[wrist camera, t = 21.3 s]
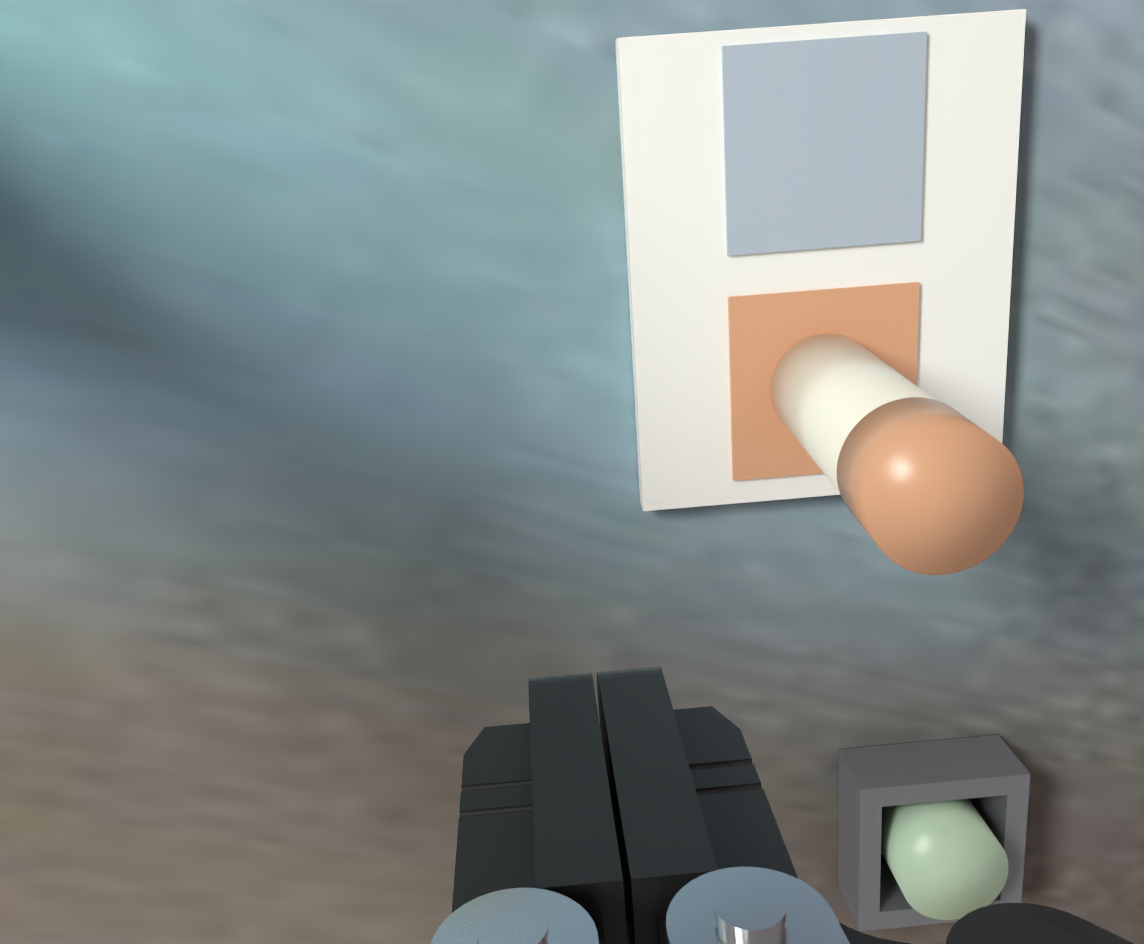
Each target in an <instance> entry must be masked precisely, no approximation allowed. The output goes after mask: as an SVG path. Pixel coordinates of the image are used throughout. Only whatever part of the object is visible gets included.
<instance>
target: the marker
mask: <svg viewBox="0 0 1144 944" xmlns="http://www.w3.org/2000/svg"><path fill="white" fill-rule="evenodd" d="M770 392H771V401H772V404H773V408H774V410H775V412H776V414H777V416H778V417H779V419H780V420H781V421H782V422H783V424H784V425H785V426H786V427H787V429H788V430H789V431H790V432H791V433H792V435H793V436H794V437H795V438H796V440H797V441H798V442H799V443H800V445H801V446H802V447H803V448H804V449H805V451H806V452H807V453H808V454H809V456H810V457H811V458H812V459H813V461H814V462H815V463H816V464H817V465H818V467H819V468H820V469H821V470H822V472H823V473H824V474H825V475H826V477H827V478H828V479H829V480H830V481H831V483H832V484H833V485H834V486H835V488H836V489H837V490H838V491H839V493H840V495H841V497H842V499H843V501H844V503H845V505H846V506H847V508H848V509H849V510H850V512H851V513H852V514H853V515H854V517H855V518H856V519H857V520H858V522H859V523H860V524H861V525H862V527H863V528H864V529H865V530H866V532H867V533H868V534H869V535H870V537H871V538H872V539H873V540H874V542H875V543H876V544H877V545H878V547H879V548H880V549H881V550H882V551H883V552H884V554H885V555H886V556H887V557H888V558H889V559H891V560H892V561H893V562H894V563H896V564H898V565H899V566H901V567H903V568H905V569H907V570H910V571H913V572H916V573H920V574H927V575H943V574H951V573H955V572H960V571H962V570H965V569H968V568H970V567H973V566H975V565H977V564H979V563H980V562H982V561H984V560H985V559H987V558H988V557H989V556H991V555H992V554H993V553H994V552H996V551H997V550H998V549H999V548H1000V547H1001V546H1002V545H1003V543H1004V542H1005V541H1006V540H1007V539H1008V537H1009V536H1010V534H1011V533H1012V531H1013V530H1014V528H1015V526H1016V524H1017V522H1018V520H1019V517H1020V514H1021V511H1022V506H1023V501H1024V481H1023V477H1022V473H1021V470H1020V467H1019V465H1018V463H1017V461H1016V459H1015V458H1014V456H1013V455H1012V453H1011V452H1010V451H1009V450H1008V449H1007V448H1006V447H1005V446H1004V445H1003V444H1002V443H1001V442H999V441H998V440H997V439H995V438H994V437H993V436H991V435H990V434H988V433H987V432H986V431H984V430H983V429H981V428H980V427H979V426H977V425H976V424H975V423H973V422H972V421H970V420H969V419H968V418H966V417H965V416H963V415H962V414H961V413H959V412H958V411H956V410H955V409H953V408H952V407H951V406H949V405H947V404H945V403H943V402H940V401H937V400H935V399H934V398H933V397H931V396H930V395H928V394H927V393H926V392H924V391H923V390H922V389H920V388H919V387H918V386H916V385H915V384H913V383H912V382H911V381H909V380H908V379H907V378H905V377H904V376H902V375H901V374H900V373H898V372H897V371H896V370H894V369H893V368H892V367H890V366H889V365H887V364H886V363H885V362H883V361H882V360H881V359H879V358H878V357H876V356H875V355H874V354H872V353H871V352H870V351H868V350H867V349H866V348H864V347H863V346H861V345H860V344H859V343H857V342H856V341H854V340H852V339H850V338H848V337H846V336H842V335H838V334H819V335H814V336H811V337H808V338H806V339H804V340H802V341H800V342H798V343H797V344H795V345H794V346H792V347H791V348H790V349H789V350H788V351H787V352H786V353H785V354H784V355H783V356H782V358H781V359H780V361H779V362H778V364H777V366H776V368H775V370H774V373H773V376H772V380H771V387H770Z"/></svg>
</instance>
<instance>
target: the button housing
mask: <svg viewBox="0 0 1144 944" xmlns="http://www.w3.org/2000/svg"><path fill="white" fill-rule="evenodd" d="M1029 787H1030V773H1029V772H1028V770H1027V769H1026V768H1025V767H1024V765H1023V764H1022V763H1021V762H1020V760H1019V759H1018V758H1017V757H1016V756H1015V754H1014V753H1013V752H1012V751H1011V749H1010V748H1009V747H1008V746H1007V745H1006V743H1005V742H1004V741H1003V740H1002V738H1001V737H1000V736H999V735H987V736H976V737H965V738H954V739H944V740H933V741H922V742H911V743H900V744H889V745H879V746H868V747H857V748H846V749H839V763H838V886H839V889H840V891H841V893H842V896H843V898H844V900H845V902H846V905H847V907H848V909H849V912H850V914H851V916H852V918H853V921H854V923H855V925H856V928H857V930H858V932H860V931H870V930H880V929H891V928H901V927H911V926H921V925H932V924H942V923H952V922H957V921H958V920H959V919H956V920H938V919H933V918H929V917H926V916H924V915H922V914H920V913H919V912H917V911H916V910H915V909H913V908H912V907H911V906H910V904H909V903H908V902H907V900H906V899H905V897H904V895H903V893H902V891H901V889H900V887H899V885H898V883H897V881H896V879H895V877H894V876H893V874H892V872H891V870H890V868H889V866H888V864H887V863H881V825H882V807H885V806H896V805H906V804H917V803H928V802H938V801H949V800H960V799H970V798H975V800H974V807H975V808H976V810H977V811H978V813H979V814H980V816H981V817H982V818H983V820H984V821H985V823H986V824H987V826H988V827H989V829H990V830H991V831H992V833H993V834H994V836H995V837H996V839H997V840H998V842H999V843H1000V844H1001V846H1002V847H1003V849H1004V851H1005V853H1006V856H1007V859H1008V876H1007V880H1006V883H1005V885H1004V887H1003V889H1002V891H1001V892H1000V894H999V895H998V896H997V898H996V899H995V900H994V901H993V902H992V903H991V904H989V905H993V904H1001V903H1021V901H1022V887H1023V873H1024V858H1025V844H1026V830H1027V816H1028V802H1029Z"/></svg>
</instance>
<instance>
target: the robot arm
mask: <svg viewBox="0 0 1144 944" xmlns="http://www.w3.org/2000/svg"><path fill="white" fill-rule="evenodd" d="M597 690H598V705H599V717H598V710H597V704H596V697H595V691H594V684H593V678H592V673H589V674H578V675H567V676H555V677H544V678H533V679H529V712H530V723H526V724H515V725H504V726H493V727H485V728H484V729H483V730H482V732H481V733H480V734H479V736H478V737H477V738H476V740H475V741H474V742H473V744H472V745H471V746H470V748H469V749H468V750H467V752H466V753H465V754H464V759H463V772H462V792H461V799H460V818H459V825H458V838H457V852H456V865H455V878H454V891H453V905H452V914H451V915H450V916H448V917H447V918H446V919H445V921H444V922H443V923H442V924H441V925H440V927H439V928H438V930H437V931H436V933H435V935H434V937H433V939H432V942H431V944H909V943H903V942H896V941H891V940H886V939H881V938H876V937H873V936H870V935H867V934H863V933H860V932H858V931H856V930H853V929H851V928H849V927H846V926H845V925H843V924H841V923H839V922H838V920H837V918H836V916H835V914H834V913H833V911H832V909H831V907H830V906H829V904H828V903H827V901H826V900H825V899H824V898H823V897H822V896H821V895H820V894H819V893H818V892H817V891H816V890H815V889H813V888H812V887H811V886H809V885H808V884H806V883H805V882H803V881H801V880H799V879H798V877H797V875H796V872H795V870H794V867H793V864H792V862H791V859H790V857H789V854H788V851H787V849H786V846H785V844H784V841H783V838H782V836H781V833H780V831H779V828H778V826H777V823H776V820H775V818H774V815H773V813H772V810H771V807H770V805H769V802H768V800H767V797H766V795H765V792H764V789H762V788H761V782H760V779H759V776H758V774H757V771H756V769H755V766H754V764H753V765H752V758H751V756H750V753H749V751H748V748H747V745H746V743H745V740H744V738H743V735H742V733H741V730H740V729H739V728H738V727H737V726H735V725H734V724H733V723H732V722H730V721H729V720H728V719H727V718H726V717H724V716H723V715H722V714H721V713H720V712H718V711H717V710H716V709H715V708H713V707H712V706H711V707H700V708H689V709H678V710H673V708H672V704H671V701H670V697H669V694H668V690H667V687H666V683H665V680H664V676H663V673H662V670H661V667H654V668H642V669H631V670H620V671H609V672H598V673H597ZM599 719H600V724H599ZM946 944H1133V943H1131V942H1129V941H1127V940H1125V939H1123V938H1121V937H1119V936H1117V935H1115V934H1113V933H1111V932H1109V931H1106V930H1104V929H1102V928H1100V927H1098V926H1096V925H1094V924H1092V923H1090V922H1088V921H1086V920H1084V919H1082V918H1079V917H1077V916H1075V915H1072V914H1070V913H1067V912H1064V911H1061V910H1058V909H1055V908H1051V907H1046V906H1041V905H1037V904H1028V903H1001V904H993V905H988V906H985V907H981V908H978V909H976V910H974V911H972V912H970V913H968V914H966V915H965V916H963V917H962V918H961V919H959V920H958V921H957V922H956V924H955V925H954V926H953V927H952V929H951V930H950V933H949V935H948V937H947V941H946Z"/></svg>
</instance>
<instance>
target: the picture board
mask: <svg viewBox="0 0 1144 944" xmlns="http://www.w3.org/2000/svg"><path fill="white" fill-rule="evenodd" d="M1025 21H1026V9H1020V10H1006V11H992V12H978V13H963V14H949V15H935V16H921V17H907V18H893V19H879V20H865V21H850V22H836V23H822V24H808V25H794V26H780V27H766V28H752V29H737V30H723V31H709V32H695V33H681V34H667V35H653V36H639V37H624V38H618V39H616V40H615V42H616V61H617V79H618V98H619V117H620V136H621V154H622V173H623V192H624V210H625V229H626V248H627V266H628V285H629V304H630V322H631V341H632V360H633V379H634V397H635V416H636V435H637V453H638V472H639V491H640V504H641V507H642V509H643V511H652V510H664V509H676V508H688V507H700V506H711V505H723V504H735V503H747V502H759V501H770V500H782V499H794V498H806V497H817V496H829V495H840V493H839V491H838V490H837V489H836V488H835V486H834V485H833V484H832V483H831V481H830V480H829V479H828V478H827V477H826V475H825V474H824V473H823V472H822V470H821V469H820V468H819V467H818V465H817V464H816V463H815V462H814V461H813V459H812V458H811V457H810V456H809V454H808V453H807V452H806V451H805V449H804V448H803V447H802V446H801V445H800V443H799V442H798V441H797V440H796V438H795V437H794V436H793V435H792V433H791V432H790V431H789V430H788V429H787V427H786V426H785V425H784V424H783V422H782V421H781V420H780V419H779V417H778V416H777V414H776V412H775V410H774V408H773V404H772V401H771V392H770V387H771V380H772V376H773V373H774V370H775V368H776V366H777V364H778V362H779V361H780V359H781V358H782V356H783V355H784V354H785V353H786V352H787V351H788V350H789V349H790V348H791V347H792V346H794V345H795V344H797V343H798V342H800V341H802V340H804V339H806V338H808V337H811V336H814V335H819V334H838V335H842V336H846V337H848V338H850V339H852V340H854V341H856V342H857V343H859V344H860V345H861V346H863V347H864V348H866V349H867V350H868V351H870V352H871V353H872V354H874V355H875V356H876V357H878V358H879V359H881V360H882V361H883V362H885V363H886V364H887V365H889V366H890V367H892V368H893V369H894V370H896V371H897V372H898V373H900V374H901V375H902V376H904V377H905V378H907V379H908V380H909V381H911V382H912V383H913V384H915V385H916V386H918V387H919V388H920V389H922V390H923V391H924V392H926V393H927V394H928V395H930V396H931V397H933V398H934V399H935V400H937V401H940V402H943V403H945V404H947V405H949V406H951V407H952V408H953V409H955V410H956V411H958V412H959V413H961V414H962V415H963V416H965V417H966V418H968V419H969V420H970V421H972V422H973V423H975V424H976V425H977V426H979V427H980V428H981V429H983V430H984V431H986V432H987V433H988V434H990V435H991V436H993V437H994V438H995V439H997V440H998V441H999V442H1001V443H1002V438H1003V420H1004V402H1005V384H1006V366H1007V348H1008V330H1009V311H1010V293H1011V275H1012V257H1013V239H1014V221H1015V203H1016V185H1017V166H1018V148H1019V130H1020V112H1021V94H1022V76H1023V58H1024V39H1025Z"/></svg>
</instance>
